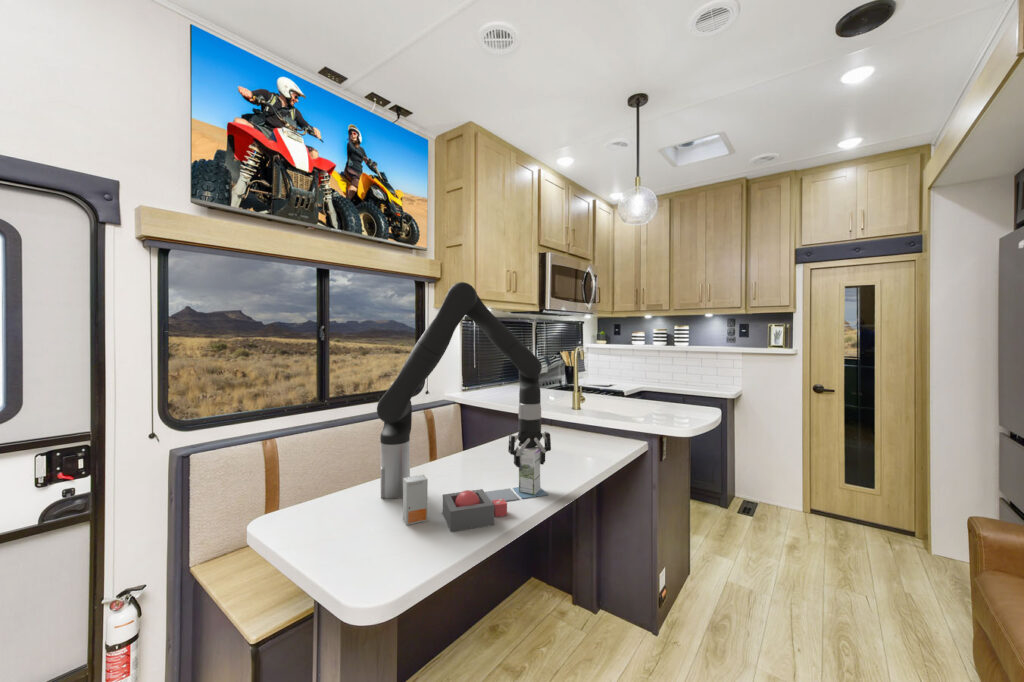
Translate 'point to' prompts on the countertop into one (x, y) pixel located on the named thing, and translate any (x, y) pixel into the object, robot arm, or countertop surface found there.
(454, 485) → the countertop surface
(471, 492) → the red ball
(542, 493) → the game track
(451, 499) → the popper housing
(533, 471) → the syrup box
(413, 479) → the skincare box
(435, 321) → the robot arm
